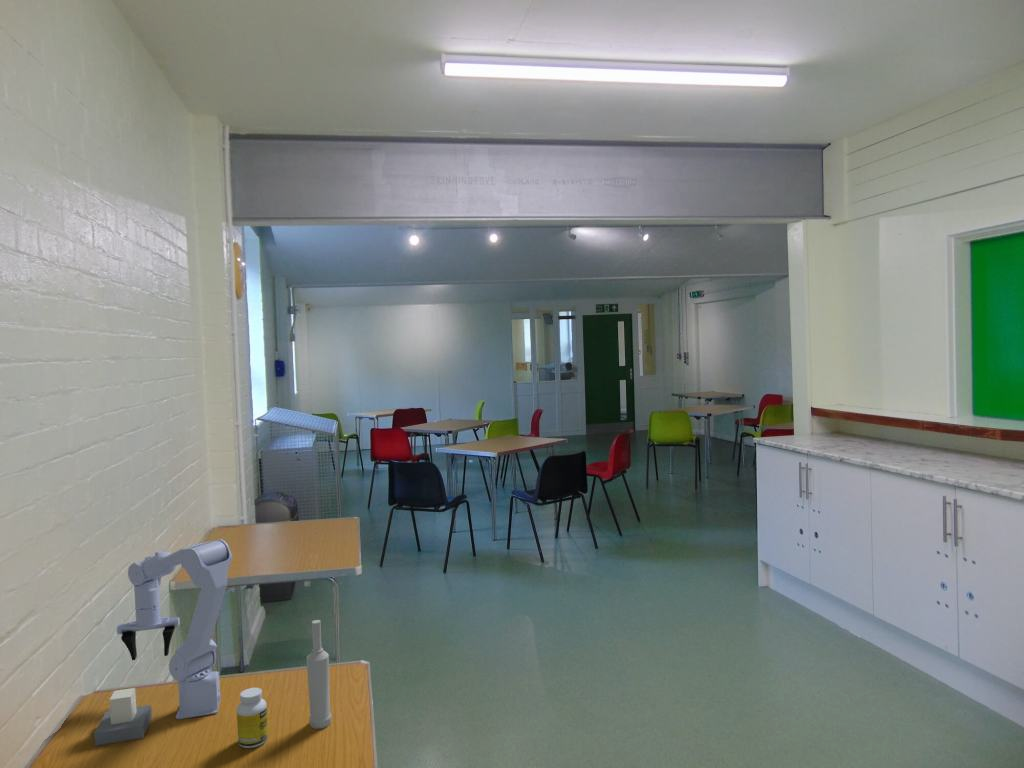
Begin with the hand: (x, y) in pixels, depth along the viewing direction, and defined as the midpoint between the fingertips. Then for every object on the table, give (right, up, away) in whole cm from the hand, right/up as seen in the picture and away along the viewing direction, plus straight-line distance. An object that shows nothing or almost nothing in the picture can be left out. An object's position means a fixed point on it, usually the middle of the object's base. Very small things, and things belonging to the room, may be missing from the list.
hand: (150, 656), depth 186 cm
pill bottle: (+35, -11, -23) cm, 43 cm away
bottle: (+49, -10, -16) cm, 52 cm away
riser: (+2, -11, -16) cm, 20 cm away
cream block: (+2, -8, -16) cm, 19 cm away
